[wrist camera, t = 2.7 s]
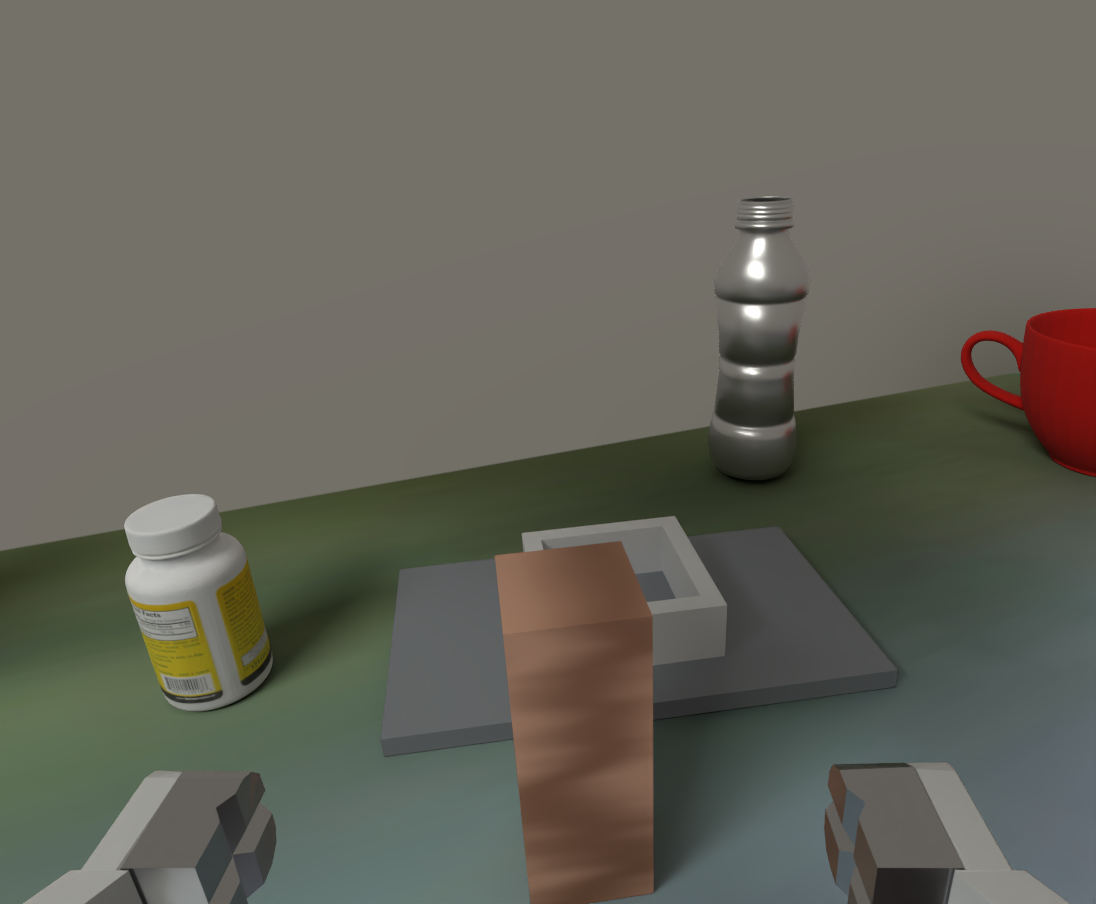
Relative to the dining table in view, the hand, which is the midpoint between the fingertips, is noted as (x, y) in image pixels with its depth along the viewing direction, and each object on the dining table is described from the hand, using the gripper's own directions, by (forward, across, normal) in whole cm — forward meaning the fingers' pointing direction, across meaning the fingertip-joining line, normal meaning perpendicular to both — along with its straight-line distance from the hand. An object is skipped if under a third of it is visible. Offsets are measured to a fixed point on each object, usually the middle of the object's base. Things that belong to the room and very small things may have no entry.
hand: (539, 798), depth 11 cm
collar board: (+26, -1, +16) cm, 31 cm away
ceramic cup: (+46, -36, +17) cm, 61 cm away
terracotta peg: (+12, 0, +16) cm, 21 cm away
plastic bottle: (+45, -12, +17) cm, 50 cm away
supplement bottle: (+22, +19, +16) cm, 34 cm away
